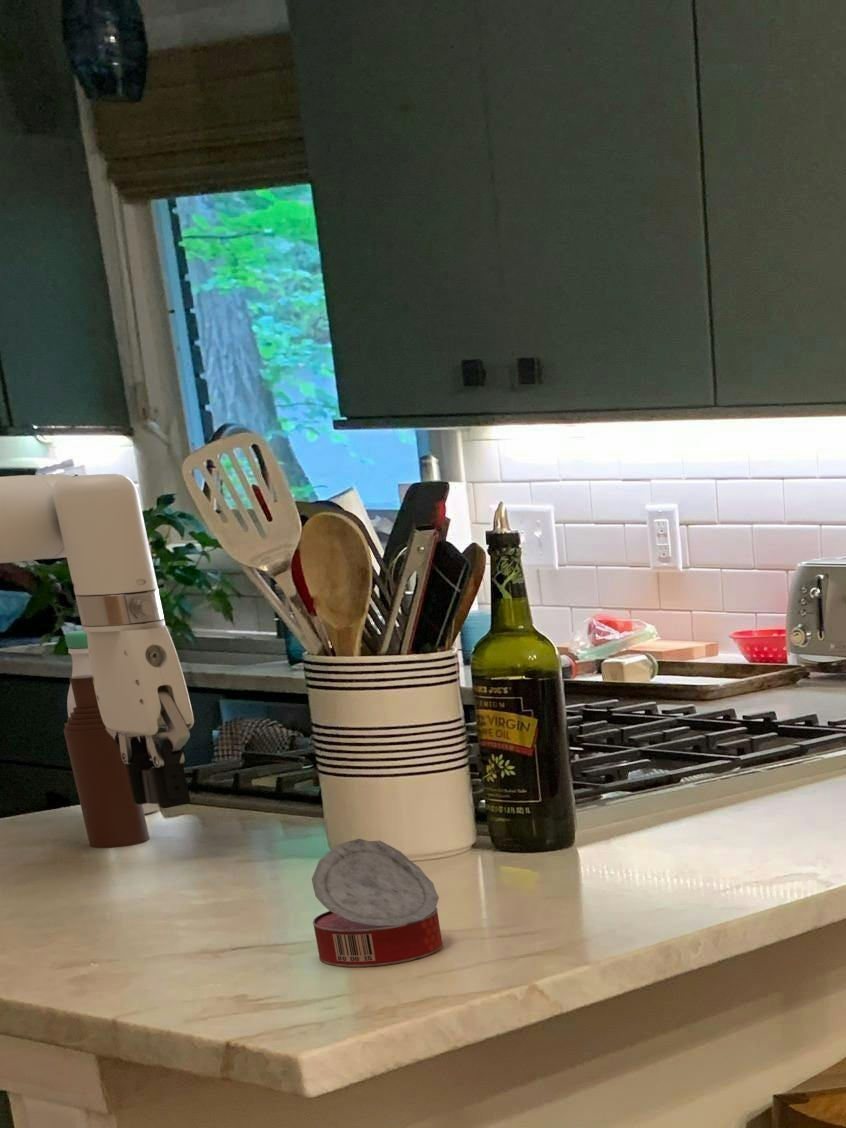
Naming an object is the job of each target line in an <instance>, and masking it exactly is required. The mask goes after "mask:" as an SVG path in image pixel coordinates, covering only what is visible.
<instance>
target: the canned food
mask: <svg viewBox="0 0 846 1128" xmlns="http://www.w3.org/2000/svg"><path fill="white" fill-rule="evenodd" d="M311 883H312V887H313V892H314V896H315V898H316V899H317V900H318V901H319V902H320V903H321V905H322V906H323V907H324V908H325V909H327V910H328V911H325V912H323V913H321V914H319V915H316V916H315V918H314V919H313V921H312V924H313V930H314V935H315V941H316V945H317V951H318V959H319V960H320V961H321V962H322V963H324V964H326V965H330V966H335V967H346V968H366V967H379V966H380V967H381V966H388V965H395V964H396V965H397V964H401V963H406V962H411V961H415V960H419V959H423V958H425V957H428V956H430V955H432V954H435V953H437V952H438V951H439V950H441V949H442V947H443V946H444V942H443V938H442V932H441V926H440V920H439V912H438V907H437V906H438V902H439V900H440V899H439V898H440V897H439V895H438V893H437V890H436V888H435V885H434V882H433V881H432V880H431V879H430V878H429V877H428V876H427V875H426V874H425V873H424V871H423V870H422V869H421V867H419V865H417V864H416V863H414V862H413V861H411V860H410V859H409V858H408V857H407V856H406V855H405V854H404V853H403V852H401V851H400V850H399V849H396V848H395V847H393V846H391V845H390V844H387V843H386V842H384V841H381V840H367V839H362V838H356V839H352V840H348V841H345V842H342V843H339V844H336V845H335V846H334V847H333V848H332V849H331V850H329V851H328V853H326V854H325V855H324V856H322V858H320V859H319V860H318V862H317V865H316V867H315V870H314V872H313V875H312V877H311Z"/></svg>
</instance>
